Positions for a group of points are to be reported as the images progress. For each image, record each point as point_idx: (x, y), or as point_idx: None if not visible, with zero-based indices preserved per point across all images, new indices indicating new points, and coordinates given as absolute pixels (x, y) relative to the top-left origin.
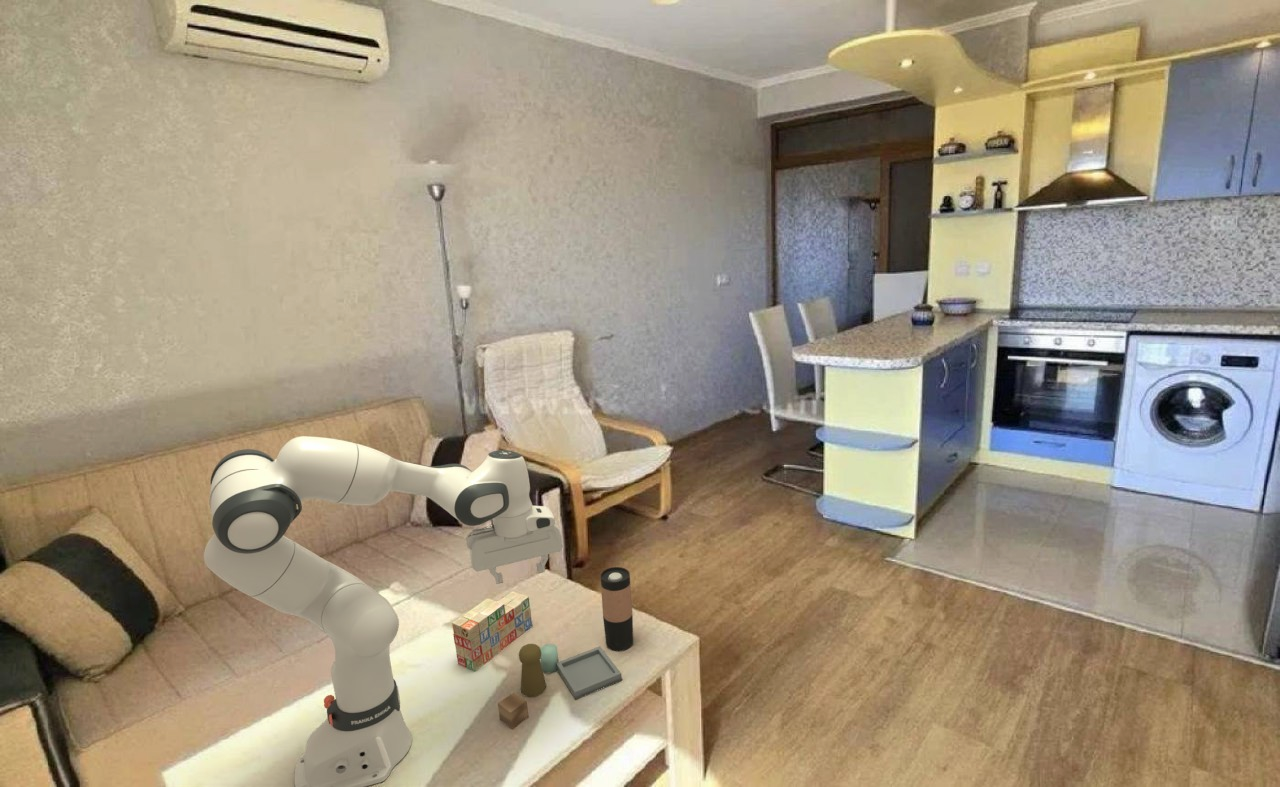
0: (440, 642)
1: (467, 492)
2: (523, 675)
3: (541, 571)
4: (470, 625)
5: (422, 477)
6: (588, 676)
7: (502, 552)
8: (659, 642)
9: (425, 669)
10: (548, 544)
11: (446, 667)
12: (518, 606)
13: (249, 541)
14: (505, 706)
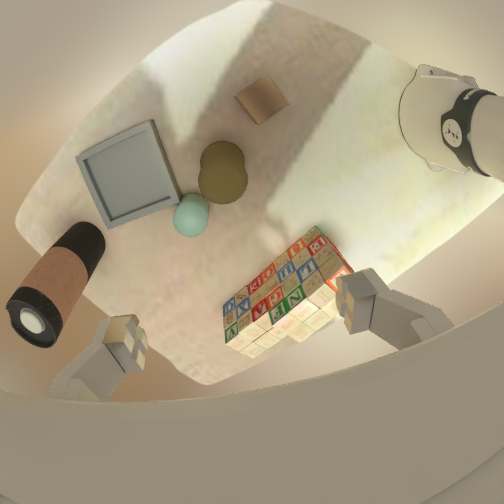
0: None
1: None
2: (239, 159)
3: (115, 319)
4: None
5: None
6: (127, 165)
7: (434, 463)
8: (38, 230)
9: (376, 246)
10: (6, 455)
11: (351, 244)
12: (243, 326)
13: None
14: (275, 92)
